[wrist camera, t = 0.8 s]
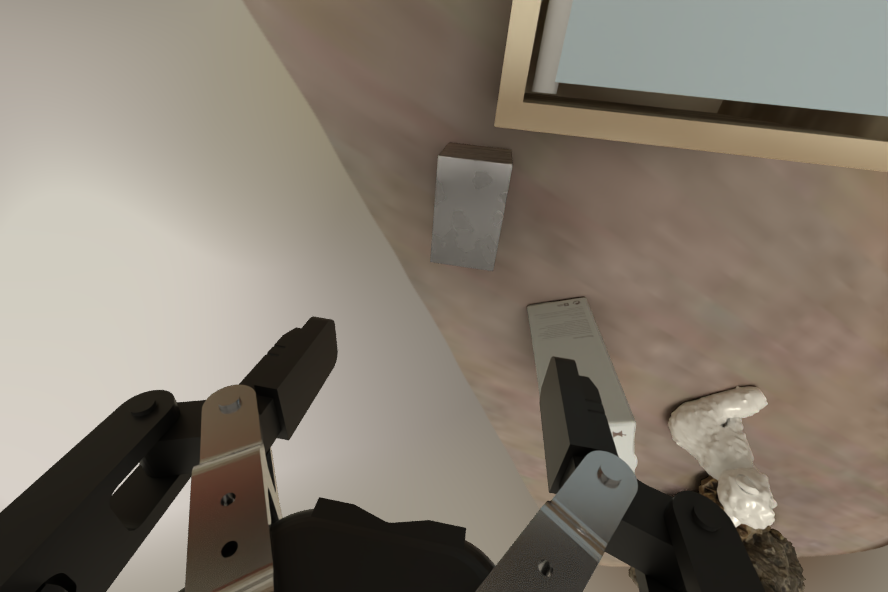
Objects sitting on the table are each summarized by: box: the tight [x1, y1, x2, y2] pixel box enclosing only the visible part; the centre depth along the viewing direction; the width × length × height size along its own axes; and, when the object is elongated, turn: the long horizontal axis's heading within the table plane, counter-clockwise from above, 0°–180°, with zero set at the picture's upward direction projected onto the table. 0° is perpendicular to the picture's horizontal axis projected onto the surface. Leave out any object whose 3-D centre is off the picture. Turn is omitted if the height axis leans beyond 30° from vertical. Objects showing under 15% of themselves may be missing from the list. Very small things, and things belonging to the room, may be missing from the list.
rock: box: [629, 475, 806, 592], centre depth 42 cm, size 18×14×15 cm
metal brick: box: [430, 142, 513, 271], centre depth 28 cm, size 8×5×6 cm, turn 175°
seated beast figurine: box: [668, 386, 777, 529], centre depth 34 cm, size 10×9×12 cm
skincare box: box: [527, 298, 638, 474], centre depth 30 cm, size 8×6×15 cm
